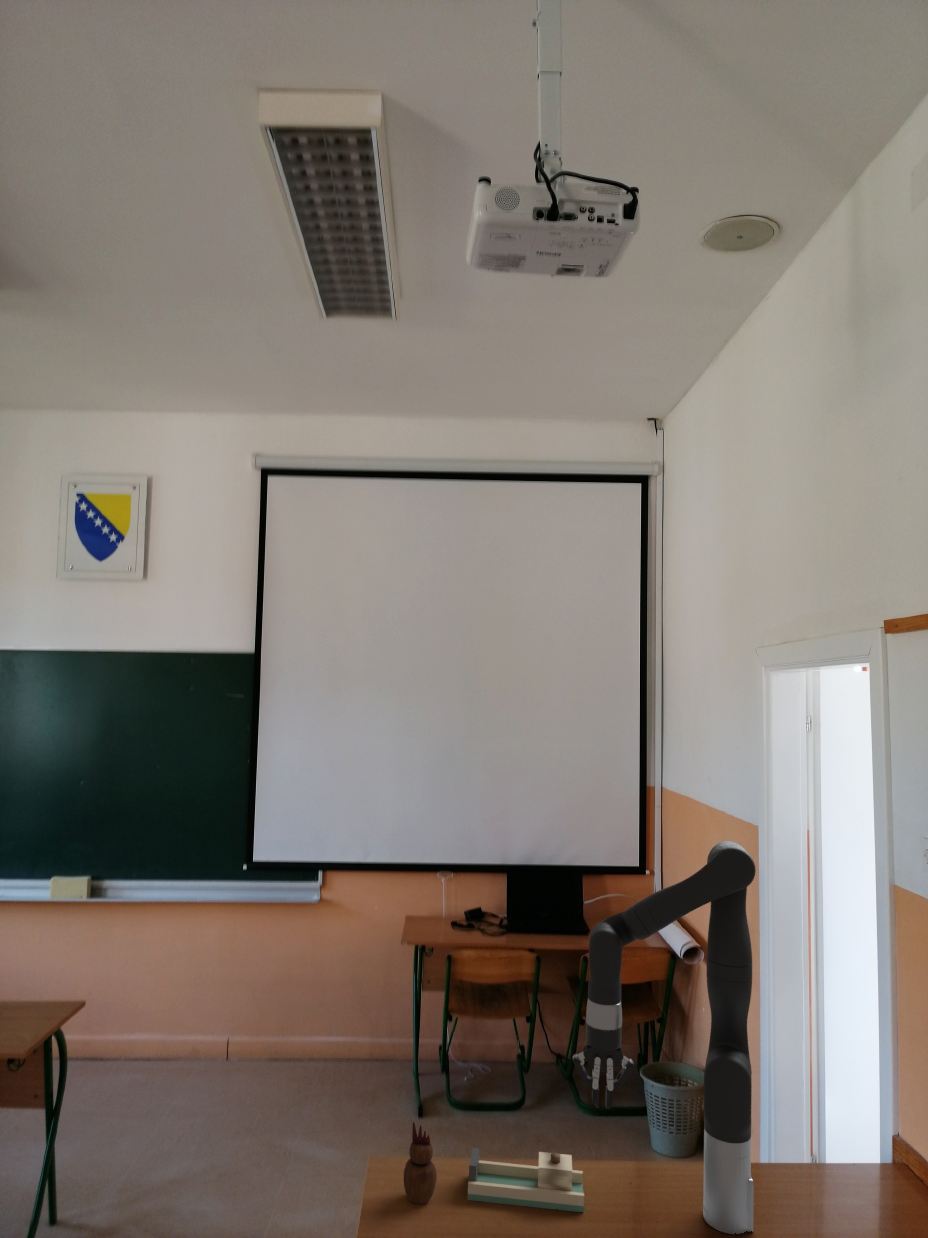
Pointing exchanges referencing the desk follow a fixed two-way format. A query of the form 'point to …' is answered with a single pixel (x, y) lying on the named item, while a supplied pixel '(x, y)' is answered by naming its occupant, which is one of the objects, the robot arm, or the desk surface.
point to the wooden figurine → (420, 1169)
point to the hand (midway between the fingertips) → (602, 1106)
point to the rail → (519, 1186)
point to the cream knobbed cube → (555, 1171)
